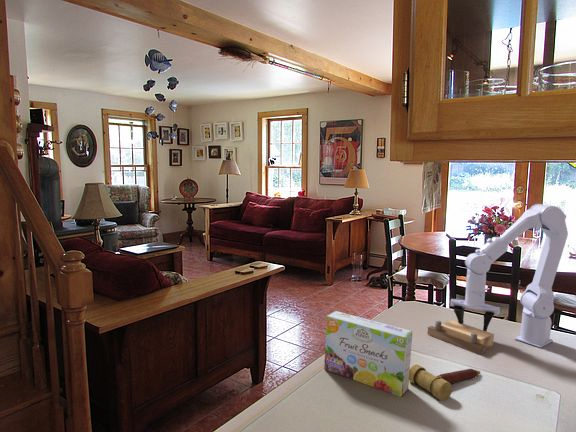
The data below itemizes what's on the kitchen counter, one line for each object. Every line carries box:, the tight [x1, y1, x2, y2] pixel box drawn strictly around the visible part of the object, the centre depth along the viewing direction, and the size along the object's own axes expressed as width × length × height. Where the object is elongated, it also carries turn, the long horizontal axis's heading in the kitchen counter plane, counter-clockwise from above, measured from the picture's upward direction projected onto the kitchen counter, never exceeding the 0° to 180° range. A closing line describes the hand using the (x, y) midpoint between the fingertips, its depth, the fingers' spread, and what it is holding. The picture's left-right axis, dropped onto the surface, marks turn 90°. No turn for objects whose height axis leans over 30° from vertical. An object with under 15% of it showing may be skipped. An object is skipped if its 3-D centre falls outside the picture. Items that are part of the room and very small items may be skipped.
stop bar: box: [427, 320, 485, 356], centre depth 131 cm, size 2×18×5 cm, turn 37°
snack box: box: [324, 310, 413, 398], centre depth 105 cm, size 21×6×15 cm, turn 55°
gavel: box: [409, 364, 481, 401], centre depth 106 cm, size 21×5×10 cm
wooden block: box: [441, 319, 495, 351], centre depth 133 cm, size 8×14×4 cm, turn 37°
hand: (472, 331), depth 137 cm, fingers open, 6 cm apart
